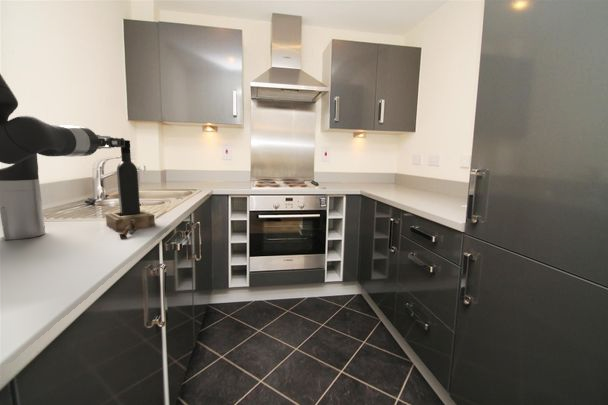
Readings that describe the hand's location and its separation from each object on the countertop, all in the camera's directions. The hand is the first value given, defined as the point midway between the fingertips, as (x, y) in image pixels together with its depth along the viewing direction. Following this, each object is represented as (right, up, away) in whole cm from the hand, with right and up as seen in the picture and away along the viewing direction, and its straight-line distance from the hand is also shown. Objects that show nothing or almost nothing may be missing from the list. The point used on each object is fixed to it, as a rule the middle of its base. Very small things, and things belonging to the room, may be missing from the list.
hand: (107, 142), depth 89 cm
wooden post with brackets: (+4, -29, +3) cm, 30 cm away
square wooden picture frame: (-2, -27, +15) cm, 31 cm away
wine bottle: (-2, -27, +15) cm, 31 cm away
